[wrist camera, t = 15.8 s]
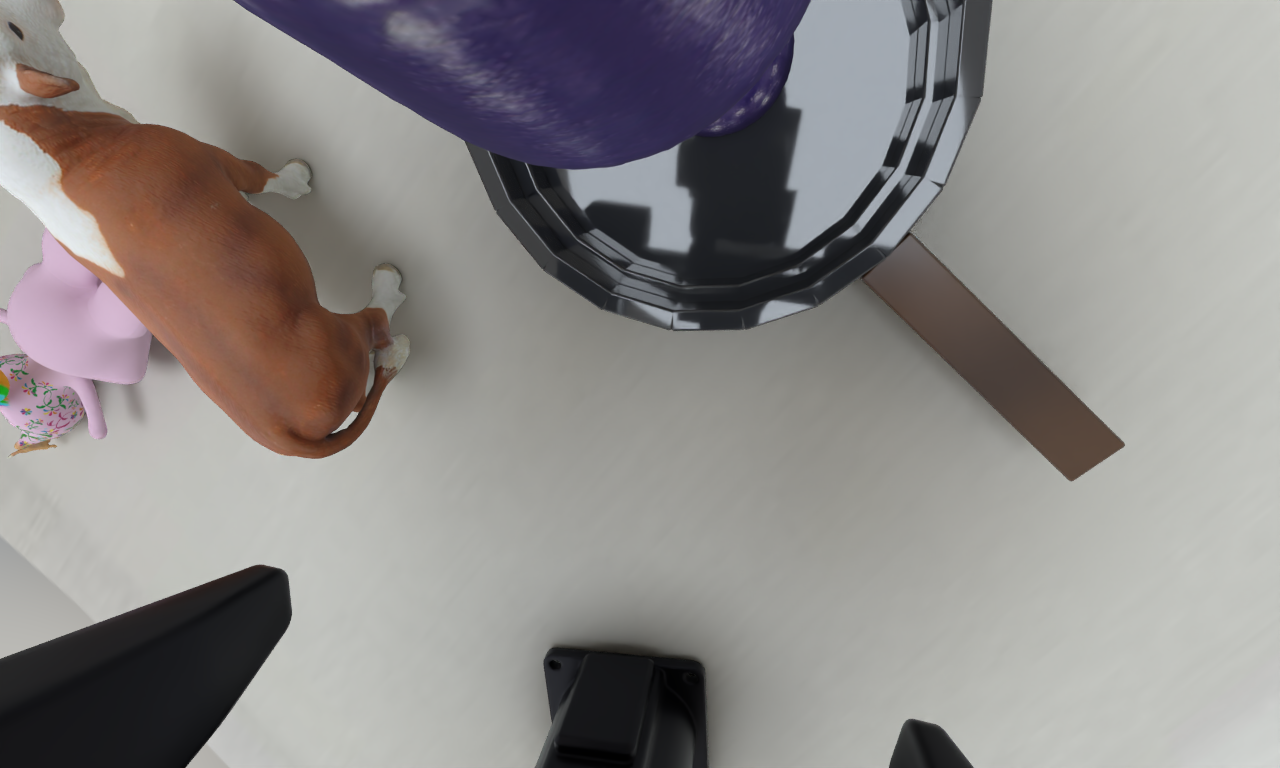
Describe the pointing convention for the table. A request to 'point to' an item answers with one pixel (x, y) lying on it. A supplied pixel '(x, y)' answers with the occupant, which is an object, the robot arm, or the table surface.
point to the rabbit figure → (65, 349)
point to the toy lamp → (560, 67)
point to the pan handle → (991, 359)
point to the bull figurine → (190, 248)
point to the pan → (768, 178)
